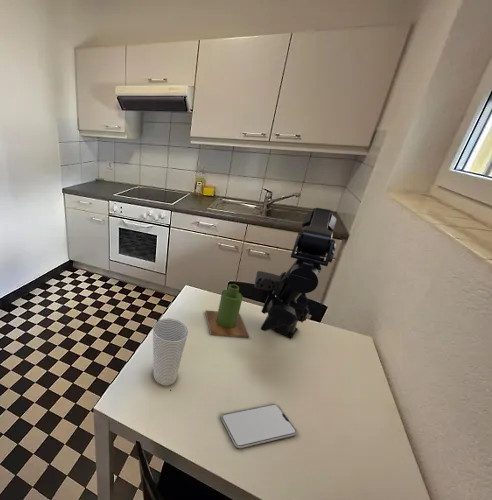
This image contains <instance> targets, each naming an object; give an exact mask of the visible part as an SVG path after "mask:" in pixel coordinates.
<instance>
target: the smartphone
mask: <svg viewBox="0 0 492 500" xmlns="http://www.w3.org/2000/svg"><path fill="white" fill-rule="evenodd" d="M220 419H221V422H222V423H223V426H224V428H225V429H226V432H227V433H228V436H229V437H230V439H231V441H232V444H233V445H234V447H236V448H238V449H244V448H248V447H252V446H256V445H259V444H264V443H269V442H273V441H276V440H281V439H286V438H290V437H294V436H296V435H297V432H298V431H297V429H296V428H295V426H294V425H293V423H292V422H291V421H290V419H289V418H288V417H287V415H286V414H285V412H284V411H283V410H282V409H281V407H280V406H279V405H278V404H276V403H271V404H266V405H265V404H264V405H261V406H255V407H251V408H247V409H242V410H235V411H231V412H226V413H223V414H221V416H220Z"/></svg>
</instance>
